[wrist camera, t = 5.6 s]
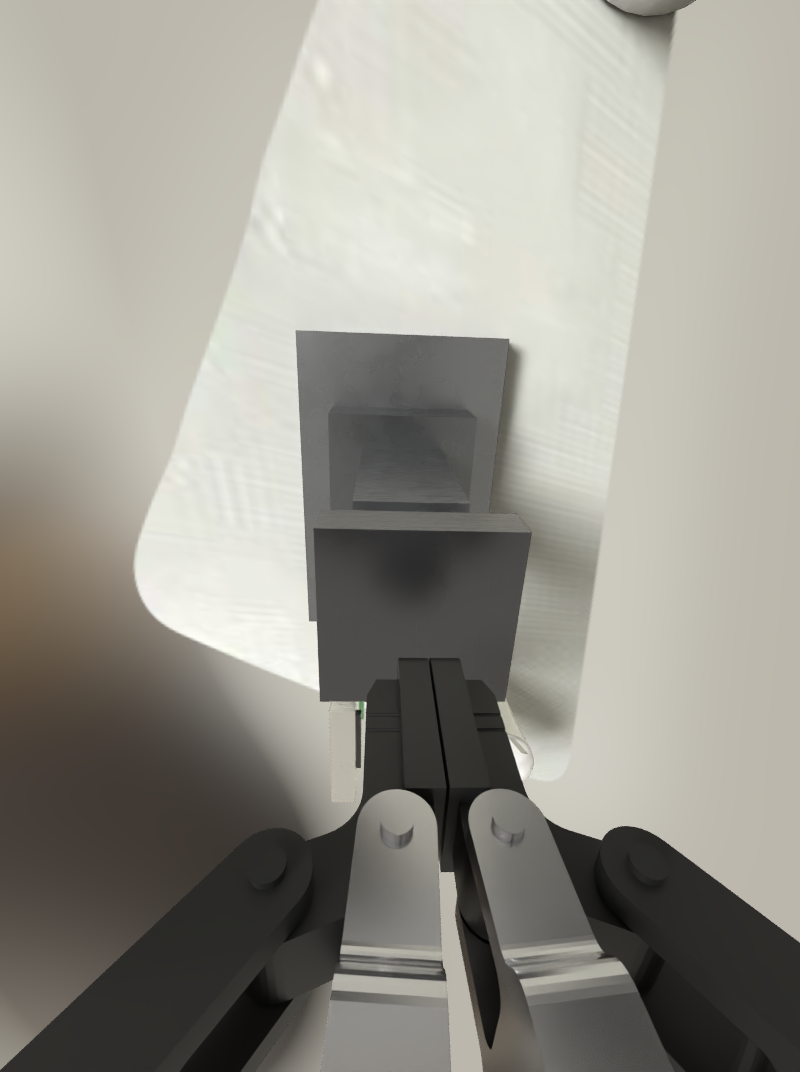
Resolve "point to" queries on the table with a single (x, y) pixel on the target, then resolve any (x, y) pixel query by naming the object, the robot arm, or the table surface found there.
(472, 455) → the gauge stand
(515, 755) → the milkshake
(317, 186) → the table surface
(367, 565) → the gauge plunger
